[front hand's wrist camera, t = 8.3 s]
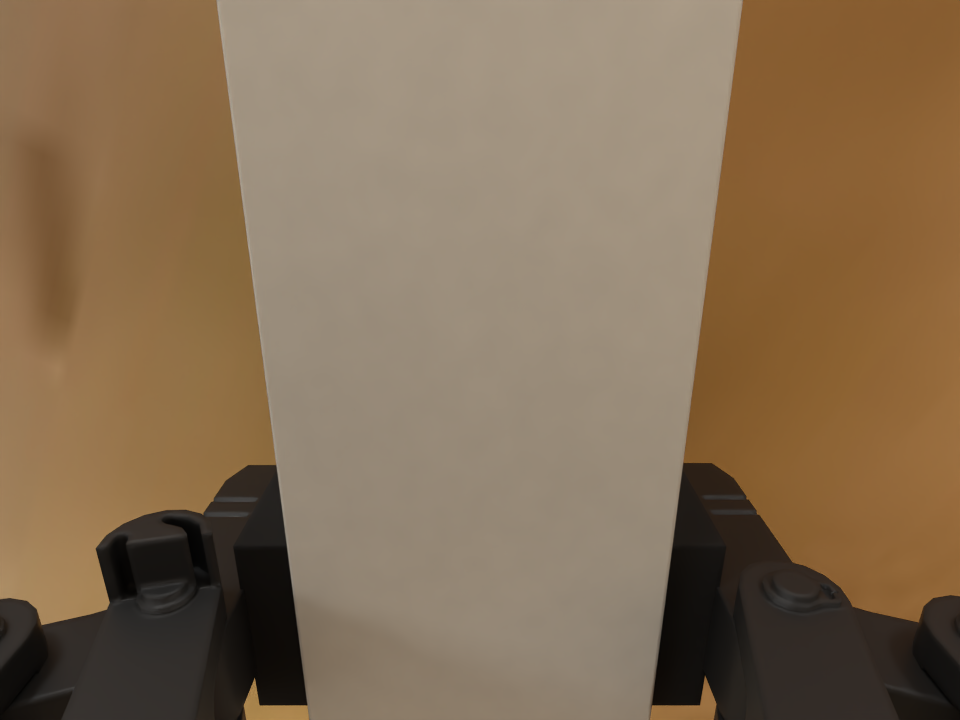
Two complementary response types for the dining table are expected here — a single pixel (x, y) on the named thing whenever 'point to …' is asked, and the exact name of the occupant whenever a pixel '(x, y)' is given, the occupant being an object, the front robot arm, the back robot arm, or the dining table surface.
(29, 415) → the dining table surface
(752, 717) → the front robot arm
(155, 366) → the dining table surface
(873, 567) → the dining table surface
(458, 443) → the bar
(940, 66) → the dining table surface
